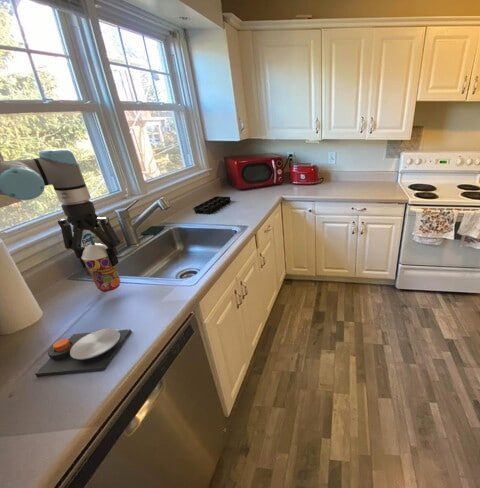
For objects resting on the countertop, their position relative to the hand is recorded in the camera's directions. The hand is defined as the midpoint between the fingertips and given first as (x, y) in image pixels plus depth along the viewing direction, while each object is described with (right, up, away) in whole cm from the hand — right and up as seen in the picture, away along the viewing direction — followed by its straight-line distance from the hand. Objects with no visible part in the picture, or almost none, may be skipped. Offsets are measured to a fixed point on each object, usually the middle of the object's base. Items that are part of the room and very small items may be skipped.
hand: (101, 265), depth 96 cm
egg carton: (0, +33, +97) cm, 103 cm away
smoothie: (0, -9, +4) cm, 10 cm away
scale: (+11, -23, -19) cm, 32 cm away
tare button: (+6, -21, -20) cm, 30 cm away
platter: (+14, -20, -20) cm, 32 cm away
